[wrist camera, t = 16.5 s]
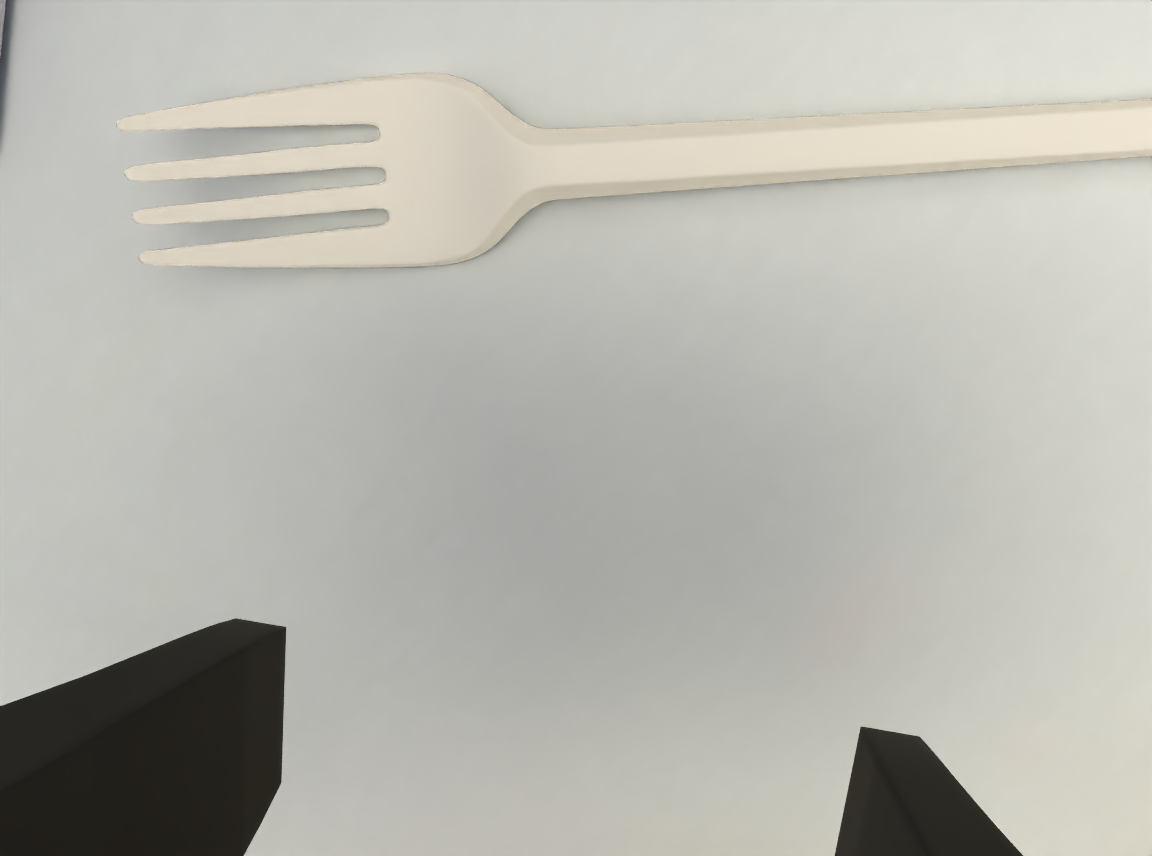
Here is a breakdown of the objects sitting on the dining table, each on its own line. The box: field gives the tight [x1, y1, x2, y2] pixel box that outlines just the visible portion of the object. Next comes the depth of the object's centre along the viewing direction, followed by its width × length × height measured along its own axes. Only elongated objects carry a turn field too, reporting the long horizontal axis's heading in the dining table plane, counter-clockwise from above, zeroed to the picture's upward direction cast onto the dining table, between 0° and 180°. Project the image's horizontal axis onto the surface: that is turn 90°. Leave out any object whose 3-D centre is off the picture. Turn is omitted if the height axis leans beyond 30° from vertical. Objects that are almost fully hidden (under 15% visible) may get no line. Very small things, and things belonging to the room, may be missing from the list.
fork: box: [116, 73, 1152, 268], centre depth 17 cm, size 3×20×2 cm, turn 94°
